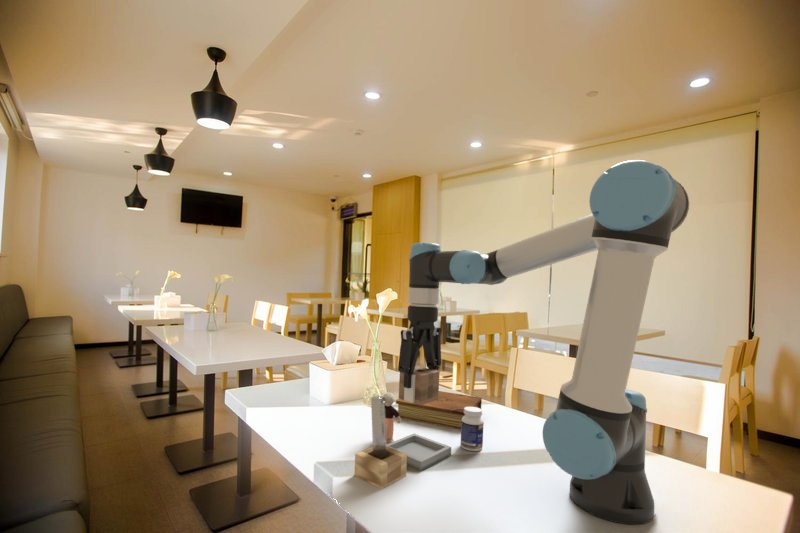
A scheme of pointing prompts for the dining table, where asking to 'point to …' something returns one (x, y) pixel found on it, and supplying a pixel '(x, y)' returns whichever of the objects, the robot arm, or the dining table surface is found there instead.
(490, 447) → the dining table surface
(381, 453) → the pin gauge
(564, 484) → the dining table surface
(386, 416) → the grandmother figurine
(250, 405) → the dining table surface
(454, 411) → the diary
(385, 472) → the oak block
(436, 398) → the walnut block
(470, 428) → the pill bottle
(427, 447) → the tray
